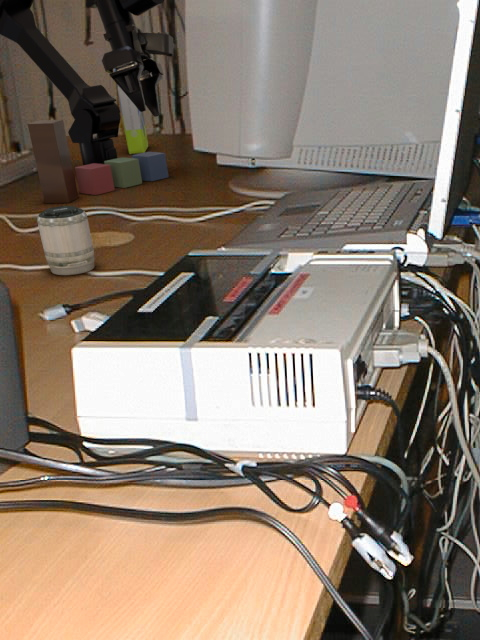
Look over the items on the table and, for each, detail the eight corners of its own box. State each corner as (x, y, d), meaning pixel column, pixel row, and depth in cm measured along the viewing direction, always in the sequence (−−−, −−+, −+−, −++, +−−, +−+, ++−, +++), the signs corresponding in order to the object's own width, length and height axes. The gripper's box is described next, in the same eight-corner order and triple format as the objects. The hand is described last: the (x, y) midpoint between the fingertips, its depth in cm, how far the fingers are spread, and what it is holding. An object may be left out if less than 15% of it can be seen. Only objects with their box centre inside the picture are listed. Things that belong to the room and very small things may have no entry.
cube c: (98, 188, 170) (94, 163, 167) (114, 190, 167) (110, 164, 165) (79, 193, 166) (74, 167, 164) (95, 195, 164) (90, 169, 162)
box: (145, 153, 203) (131, 68, 194) (127, 154, 203) (112, 69, 194) (149, 146, 212) (136, 64, 203) (131, 147, 212) (118, 65, 203)
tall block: (55, 197, 164) (38, 120, 157) (79, 197, 163) (63, 119, 157) (44, 203, 160) (27, 124, 153) (69, 202, 159) (52, 123, 153)
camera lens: (42, 269, 122) (28, 209, 118) (86, 260, 125) (74, 201, 121) (58, 279, 117) (44, 216, 113) (104, 269, 120) (92, 208, 116)
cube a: (152, 175, 179) (149, 151, 177) (168, 177, 177) (165, 152, 175) (135, 179, 176) (131, 155, 174) (151, 181, 174) (147, 156, 171)
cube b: (126, 181, 174) (122, 157, 172) (142, 183, 172) (138, 158, 170) (108, 186, 171) (103, 161, 169) (124, 188, 169) (120, 162, 167)
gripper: (145, 0, 157) (177, 94, 161) (173, 21, 174) (201, 105, 179) (86, 21, 158) (120, 114, 163) (120, 40, 176) (149, 123, 180)
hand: (150, 113), depth 171 cm, fingers open, 9 cm apart
